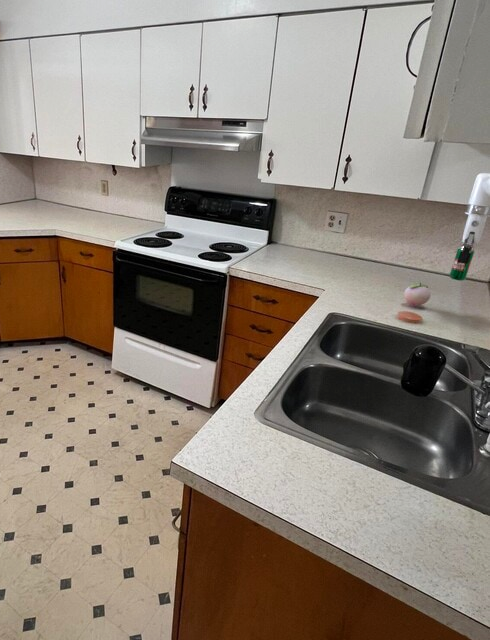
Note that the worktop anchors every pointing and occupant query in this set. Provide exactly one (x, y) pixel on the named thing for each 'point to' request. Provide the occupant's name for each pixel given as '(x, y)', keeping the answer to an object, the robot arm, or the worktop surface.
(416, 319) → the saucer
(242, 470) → the worktop surface
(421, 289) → the decorative fruit
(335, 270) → the worktop surface
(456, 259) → the soda can
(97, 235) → the worktop surface
